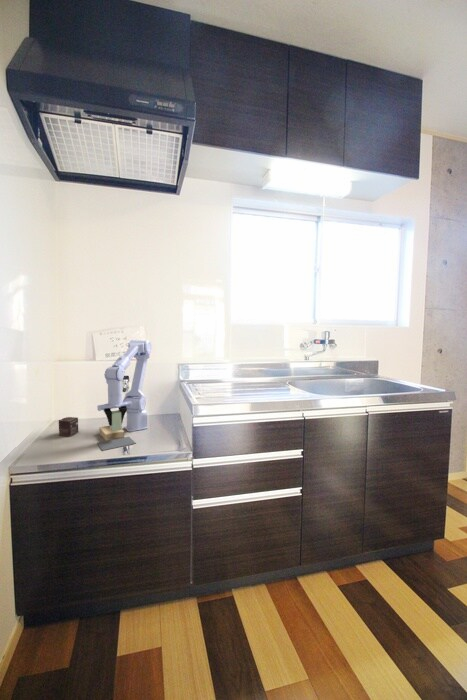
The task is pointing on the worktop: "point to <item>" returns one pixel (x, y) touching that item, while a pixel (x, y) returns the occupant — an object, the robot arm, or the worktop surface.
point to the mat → (115, 443)
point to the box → (68, 426)
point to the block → (116, 421)
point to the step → (110, 433)
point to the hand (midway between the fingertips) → (115, 424)
